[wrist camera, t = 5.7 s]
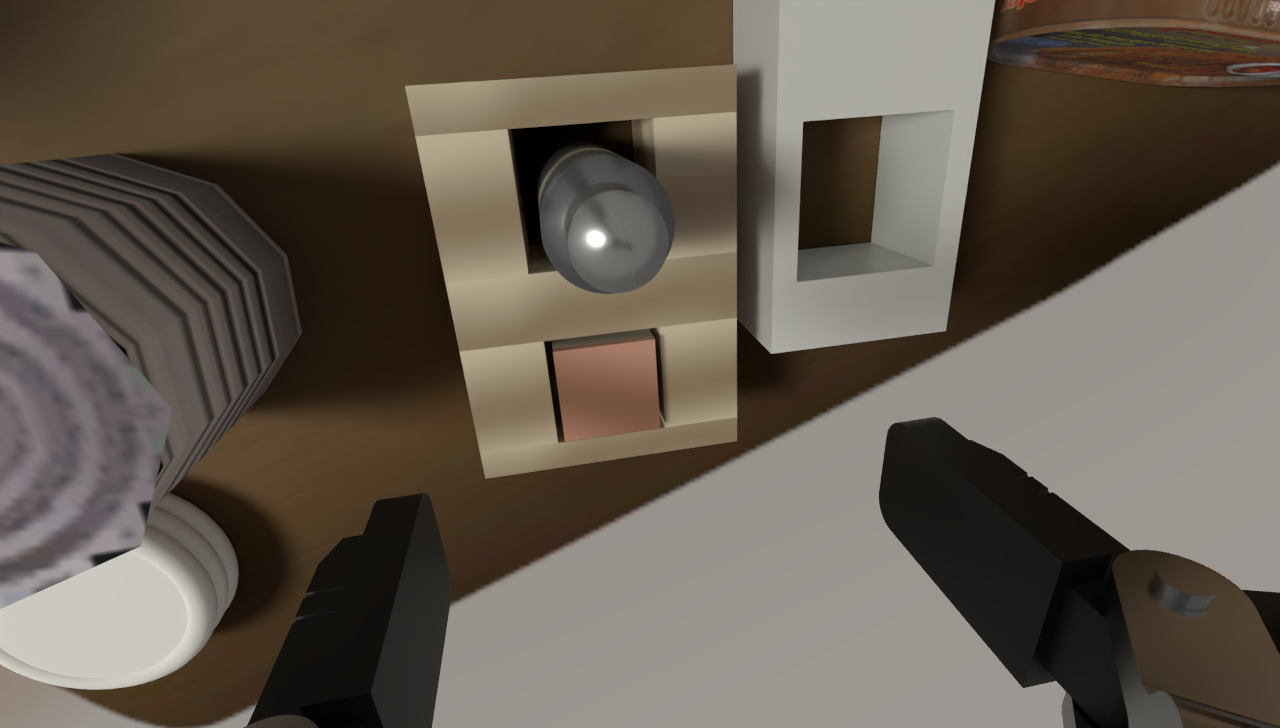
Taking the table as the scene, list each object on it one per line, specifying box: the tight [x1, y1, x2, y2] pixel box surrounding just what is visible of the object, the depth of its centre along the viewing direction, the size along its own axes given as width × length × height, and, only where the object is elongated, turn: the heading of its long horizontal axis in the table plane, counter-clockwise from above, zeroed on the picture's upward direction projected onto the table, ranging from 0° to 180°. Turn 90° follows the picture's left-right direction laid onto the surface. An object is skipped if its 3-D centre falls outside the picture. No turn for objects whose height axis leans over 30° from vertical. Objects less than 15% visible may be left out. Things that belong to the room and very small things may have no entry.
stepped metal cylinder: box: [537, 139, 675, 294], centre depth 20 cm, size 4×4×13 cm
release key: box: [552, 329, 660, 442], centre depth 26 cm, size 4×4×4 cm
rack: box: [733, 0, 995, 354], centre depth 25 cm, size 15×8×5 cm, turn 4°
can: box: [0, 154, 302, 609], centre depth 19 cm, size 11×11×12 cm
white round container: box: [0, 493, 239, 689], centre depth 28 cm, size 10×10×4 cm
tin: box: [987, 0, 1280, 87], centre depth 23 cm, size 15×3×8 cm, turn 85°
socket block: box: [405, 64, 737, 479], centre depth 25 cm, size 15×11×5 cm
